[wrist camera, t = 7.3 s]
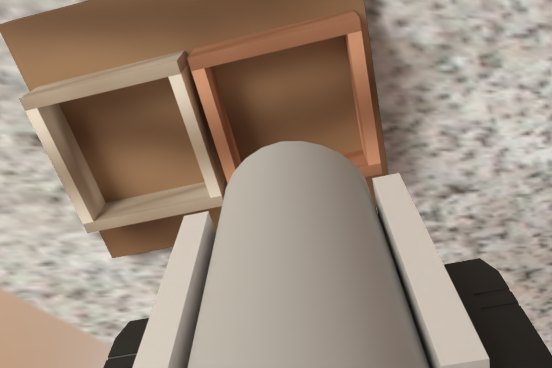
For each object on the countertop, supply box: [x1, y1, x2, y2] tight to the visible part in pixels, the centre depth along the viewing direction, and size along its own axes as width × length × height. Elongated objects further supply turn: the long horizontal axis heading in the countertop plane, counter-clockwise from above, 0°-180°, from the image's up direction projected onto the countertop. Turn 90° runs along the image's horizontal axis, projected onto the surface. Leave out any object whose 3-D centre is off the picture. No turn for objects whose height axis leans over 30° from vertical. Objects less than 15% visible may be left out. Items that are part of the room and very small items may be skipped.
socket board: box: [0, 0, 388, 258], centre depth 24 cm, size 14×17×3 cm
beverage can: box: [188, 141, 430, 368], centre depth 11 cm, size 5×5×12 cm
